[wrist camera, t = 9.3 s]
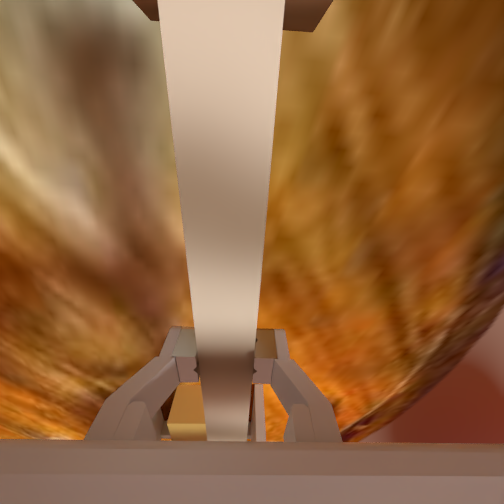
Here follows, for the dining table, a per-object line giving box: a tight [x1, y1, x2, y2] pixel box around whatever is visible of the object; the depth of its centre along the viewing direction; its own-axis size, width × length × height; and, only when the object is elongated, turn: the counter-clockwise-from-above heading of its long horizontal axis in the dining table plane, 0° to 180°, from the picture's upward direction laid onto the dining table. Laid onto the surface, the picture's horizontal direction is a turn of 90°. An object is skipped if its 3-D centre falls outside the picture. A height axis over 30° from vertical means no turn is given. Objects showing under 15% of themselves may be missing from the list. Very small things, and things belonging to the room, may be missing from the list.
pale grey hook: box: [133, 0, 333, 441], centre depth 11 cm, size 35×12×3 cm, turn 177°
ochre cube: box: [167, 385, 207, 441], centre depth 32 cm, size 5×5×5 cm
